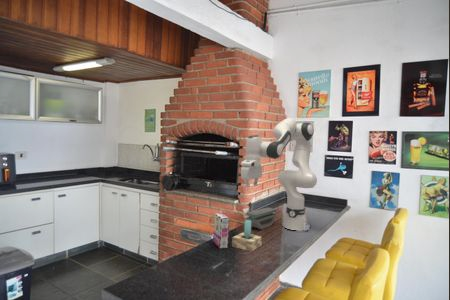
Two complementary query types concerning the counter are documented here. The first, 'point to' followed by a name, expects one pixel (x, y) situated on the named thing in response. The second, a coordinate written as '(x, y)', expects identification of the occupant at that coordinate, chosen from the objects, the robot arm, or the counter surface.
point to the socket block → (246, 242)
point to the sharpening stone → (262, 217)
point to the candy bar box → (221, 230)
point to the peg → (247, 229)
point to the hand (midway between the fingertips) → (251, 186)
